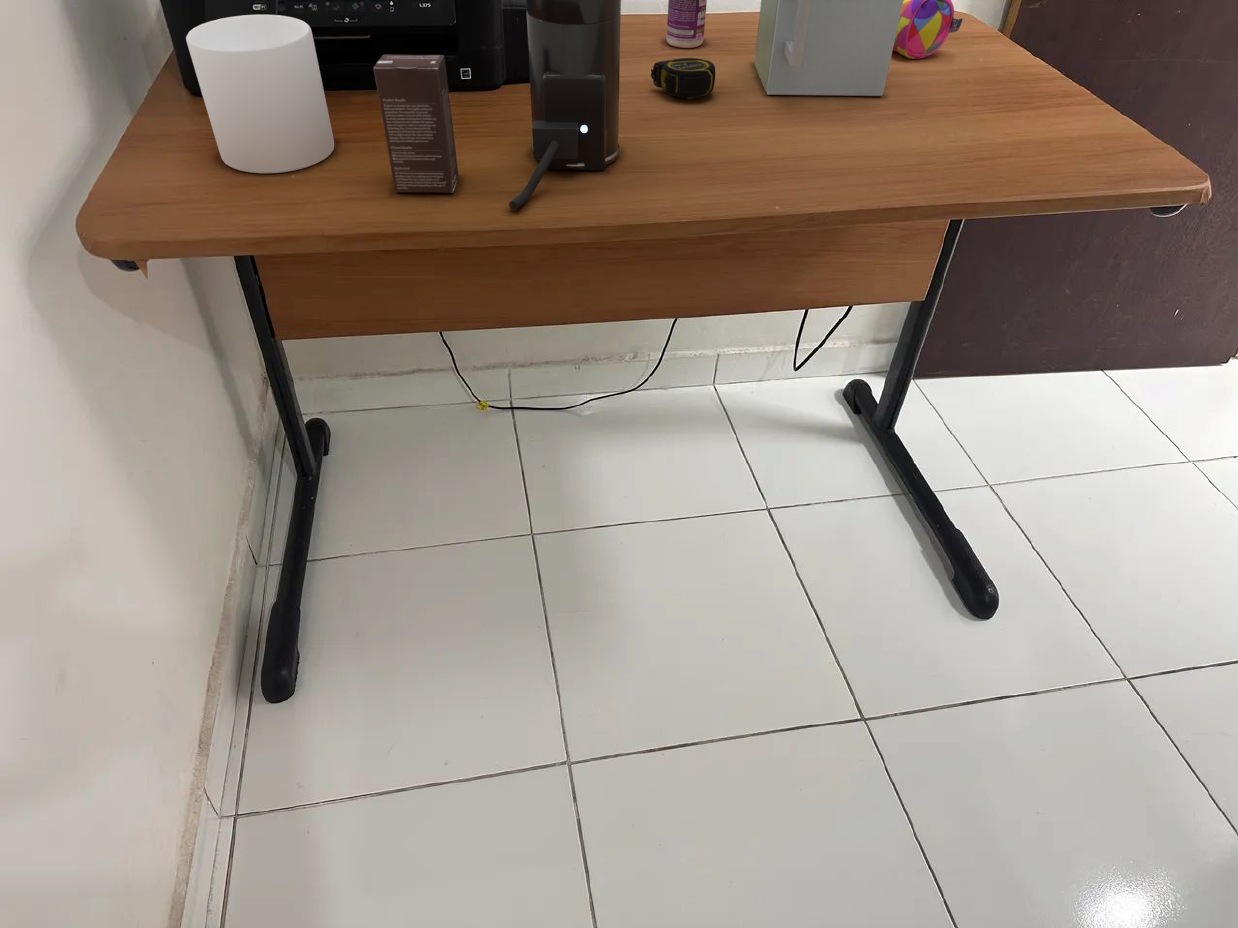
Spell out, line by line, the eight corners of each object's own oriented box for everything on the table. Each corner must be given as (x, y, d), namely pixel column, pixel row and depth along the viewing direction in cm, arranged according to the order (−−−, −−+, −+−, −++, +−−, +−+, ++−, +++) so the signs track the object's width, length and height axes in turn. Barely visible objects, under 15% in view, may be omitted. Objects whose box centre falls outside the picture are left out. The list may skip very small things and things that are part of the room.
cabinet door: (893, 111, 105) (928, -41, 94) (773, 110, 104) (794, -43, 93) (880, 93, 109) (912, -54, 98) (766, 92, 109) (785, -56, 98)
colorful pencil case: (957, 57, 121) (976, -15, 115) (904, 66, 118) (921, -7, 112) (860, 15, 135) (872, -50, 129) (810, 22, 132) (821, -45, 126)
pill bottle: (704, 49, 121) (710, -28, 115) (666, 48, 121) (670, -29, 115) (702, 37, 125) (708, -38, 119) (665, 36, 125) (669, -39, 119)
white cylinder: (356, 139, 96) (334, 22, 88) (292, 181, 88) (262, 57, 80) (266, 124, 99) (237, 9, 91) (197, 163, 91) (158, 41, 82)
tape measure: (697, 82, 112) (700, 51, 109) (723, 100, 107) (726, 68, 104) (649, 89, 110) (651, 58, 107) (673, 107, 105) (675, 75, 102)
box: (459, 176, 90) (446, 53, 81) (453, 195, 86) (438, 69, 78) (401, 175, 90) (382, 51, 81) (392, 194, 86) (371, 67, 78)
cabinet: (880, 94, 110) (912, -56, 99) (765, 92, 109) (785, -58, 98) (860, 65, 118) (888, -76, 107) (753, 63, 117) (770, -78, 106)
